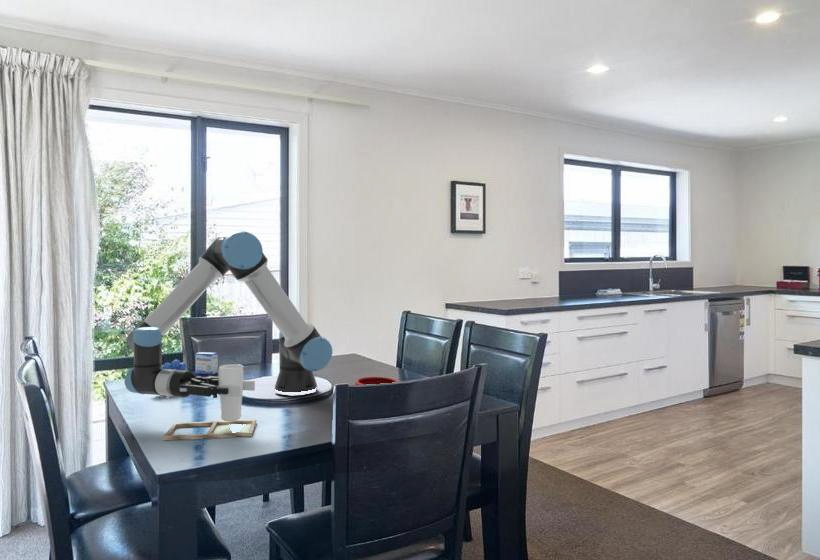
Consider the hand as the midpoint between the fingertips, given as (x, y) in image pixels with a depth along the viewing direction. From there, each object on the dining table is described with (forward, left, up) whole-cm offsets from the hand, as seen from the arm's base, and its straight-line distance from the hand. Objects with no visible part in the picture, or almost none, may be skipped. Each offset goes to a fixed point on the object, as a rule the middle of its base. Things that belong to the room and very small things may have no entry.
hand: (247, 388), depth 159 cm
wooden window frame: (+10, -2, -12) cm, 16 cm away
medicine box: (+26, -86, -12) cm, 91 cm away
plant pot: (-37, -6, -12) cm, 40 cm away
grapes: (+32, -52, -12) cm, 62 cm away
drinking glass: (+5, -2, -9) cm, 10 cm away
